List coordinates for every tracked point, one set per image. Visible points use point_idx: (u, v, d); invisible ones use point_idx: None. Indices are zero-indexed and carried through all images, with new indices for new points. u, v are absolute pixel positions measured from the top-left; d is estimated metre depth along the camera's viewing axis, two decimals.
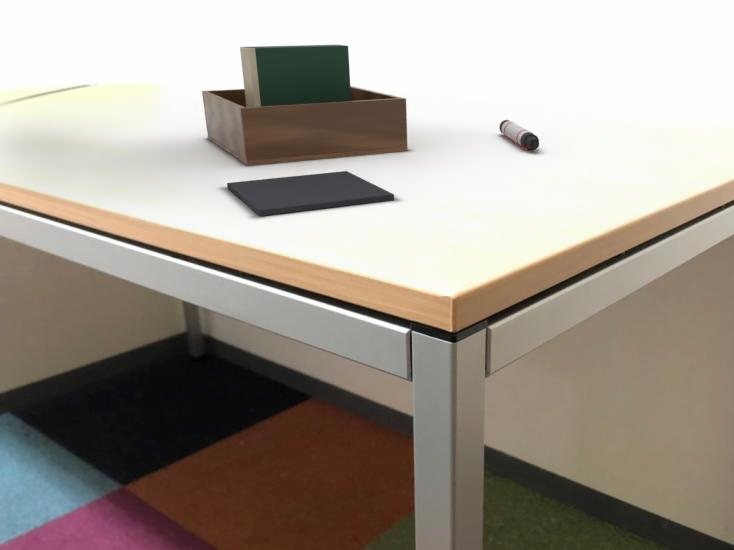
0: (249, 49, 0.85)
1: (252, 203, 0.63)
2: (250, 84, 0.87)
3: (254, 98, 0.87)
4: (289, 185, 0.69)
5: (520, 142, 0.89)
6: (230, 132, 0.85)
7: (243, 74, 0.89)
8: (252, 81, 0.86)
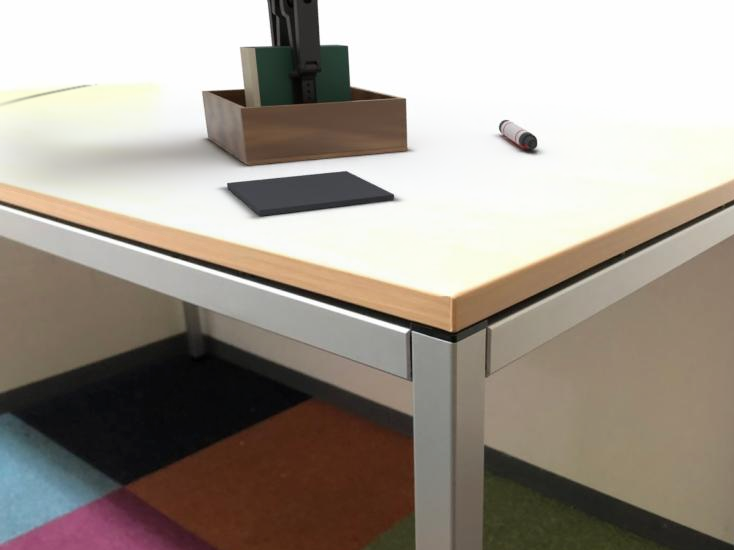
0: (249, 49, 0.85)
1: (252, 203, 0.63)
2: (250, 84, 0.87)
3: (254, 98, 0.87)
4: (289, 185, 0.69)
5: (518, 142, 0.89)
6: (230, 132, 0.85)
7: (243, 74, 0.89)
8: (252, 81, 0.86)
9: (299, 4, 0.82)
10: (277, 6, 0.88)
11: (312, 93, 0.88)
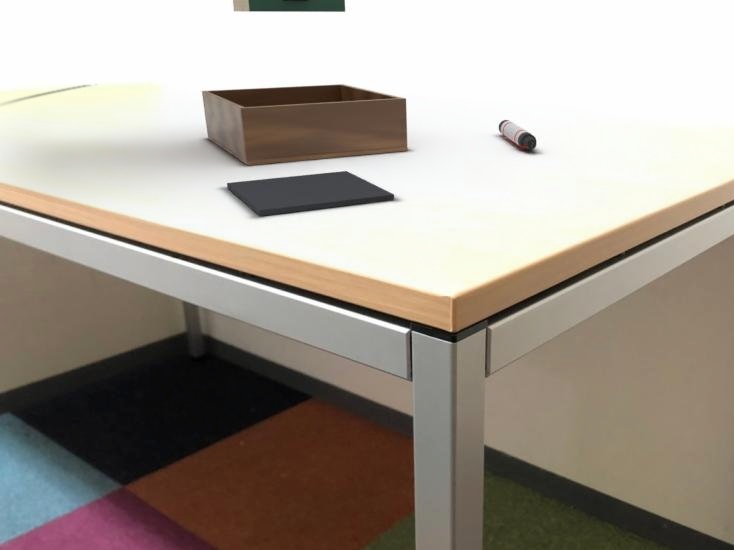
0: None
1: (252, 203, 0.63)
2: None
3: None
4: (289, 185, 0.69)
5: (518, 142, 0.89)
6: (230, 132, 0.85)
7: None
8: None
9: None
10: None
11: None
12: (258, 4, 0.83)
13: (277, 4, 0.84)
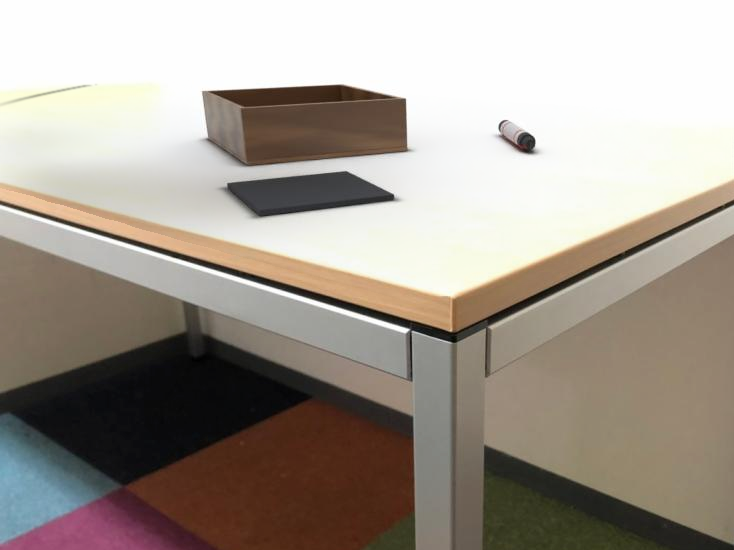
0: None
1: (252, 203, 0.63)
2: None
3: None
4: (289, 185, 0.69)
5: (517, 142, 0.89)
6: (230, 132, 0.85)
7: None
8: None
9: None
10: None
11: None
12: None
13: None
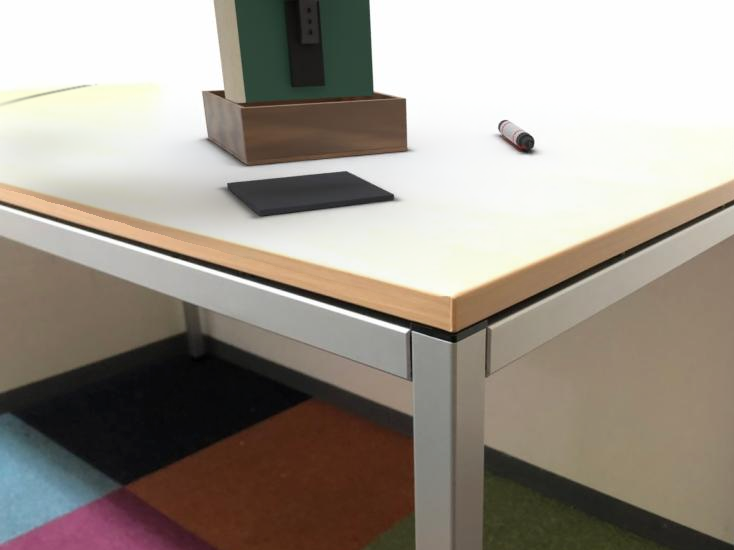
0: None
1: (252, 203, 0.63)
2: (223, 9, 0.58)
3: (229, 30, 0.58)
4: (289, 185, 0.69)
5: (516, 142, 0.89)
6: (230, 132, 0.85)
7: None
8: (226, 3, 0.58)
9: None
10: None
11: (315, 23, 0.60)
12: (258, 93, 0.61)
13: (283, 91, 0.62)
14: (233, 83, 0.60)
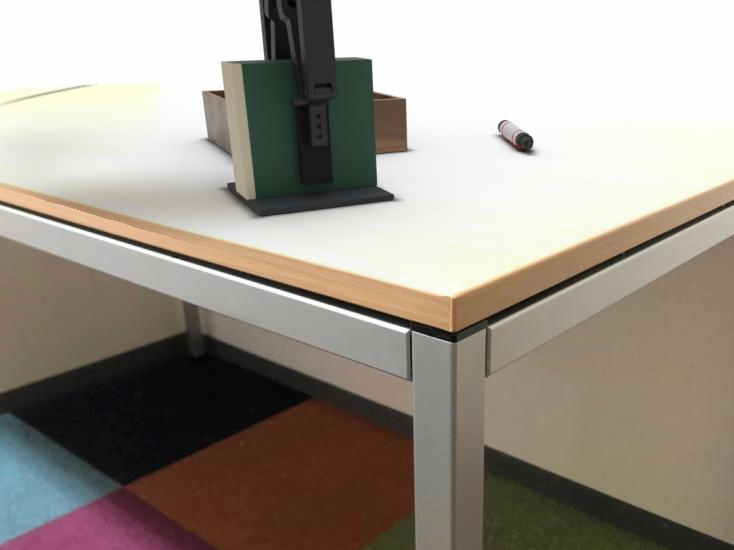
0: (233, 65, 0.60)
1: (252, 203, 0.63)
2: (235, 114, 0.62)
3: (241, 134, 0.62)
4: None
5: (515, 142, 0.89)
6: None
7: (226, 99, 0.64)
8: (238, 110, 0.61)
9: (304, 1, 0.57)
10: (272, 7, 0.63)
11: (324, 128, 0.62)
12: (268, 189, 0.64)
13: (292, 187, 0.65)
14: (244, 182, 0.63)
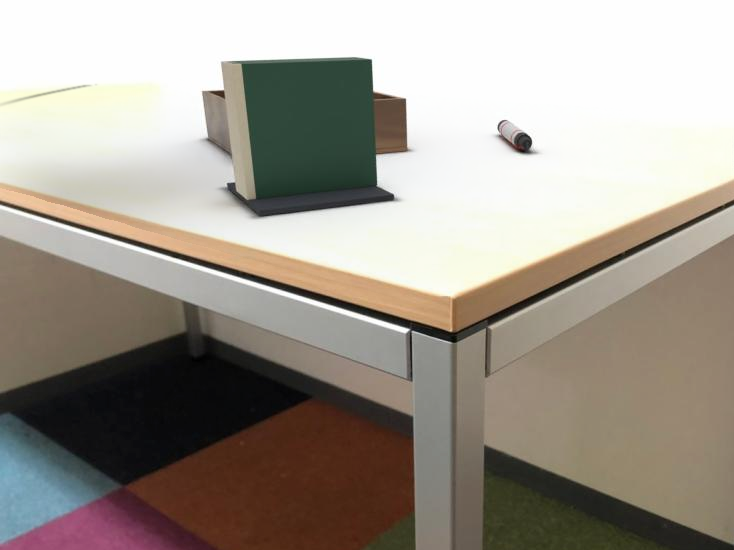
0: (233, 65, 0.60)
1: (252, 203, 0.63)
2: (235, 114, 0.62)
3: (241, 134, 0.62)
4: None
5: (514, 142, 0.89)
6: None
7: (226, 99, 0.64)
8: (238, 110, 0.61)
9: None
10: None
11: None
12: (268, 189, 0.64)
13: (292, 187, 0.65)
14: (244, 182, 0.63)
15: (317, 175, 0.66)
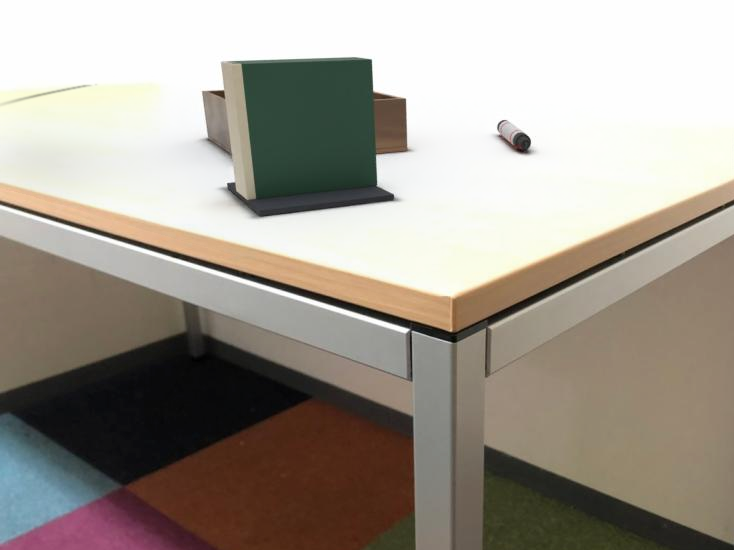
0: (233, 65, 0.60)
1: (252, 203, 0.63)
2: (235, 114, 0.62)
3: (241, 134, 0.62)
4: None
5: (513, 142, 0.89)
6: None
7: (226, 99, 0.64)
8: (238, 110, 0.61)
9: None
10: None
11: None
12: (268, 189, 0.64)
13: (292, 187, 0.65)
14: (244, 182, 0.63)
15: (317, 175, 0.66)
